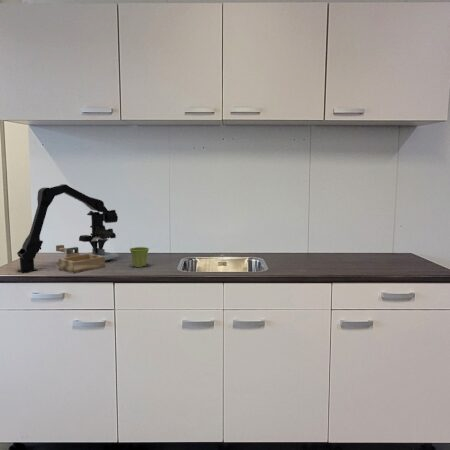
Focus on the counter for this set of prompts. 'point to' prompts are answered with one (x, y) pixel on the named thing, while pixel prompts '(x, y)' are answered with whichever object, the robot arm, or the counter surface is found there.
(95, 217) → the robot arm
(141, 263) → the plant pot
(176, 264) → the counter surface
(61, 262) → the toolbox
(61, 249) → the beige long block
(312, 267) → the counter surface
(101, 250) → the lid
